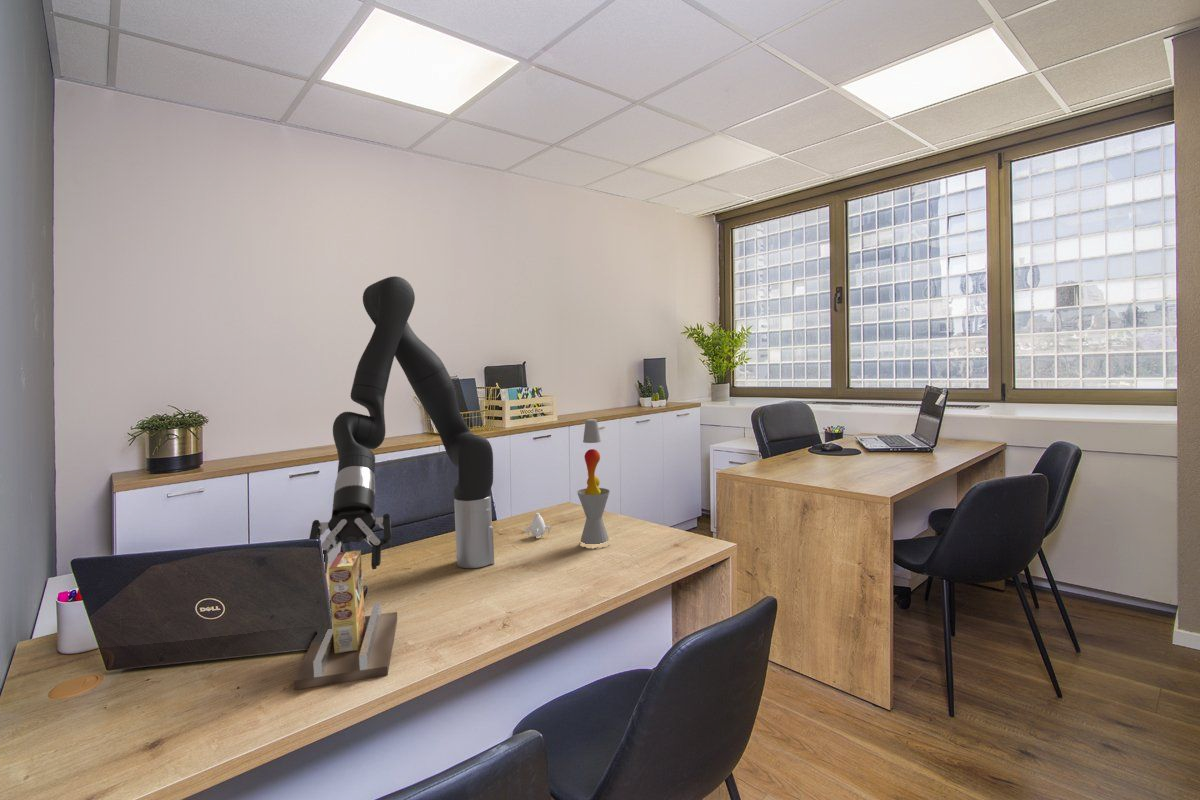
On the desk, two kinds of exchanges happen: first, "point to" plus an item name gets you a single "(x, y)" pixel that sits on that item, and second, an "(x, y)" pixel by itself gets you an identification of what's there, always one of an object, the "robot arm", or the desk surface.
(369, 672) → the track base
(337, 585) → the candy box
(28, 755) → the desk surface
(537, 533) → the rocket toy
